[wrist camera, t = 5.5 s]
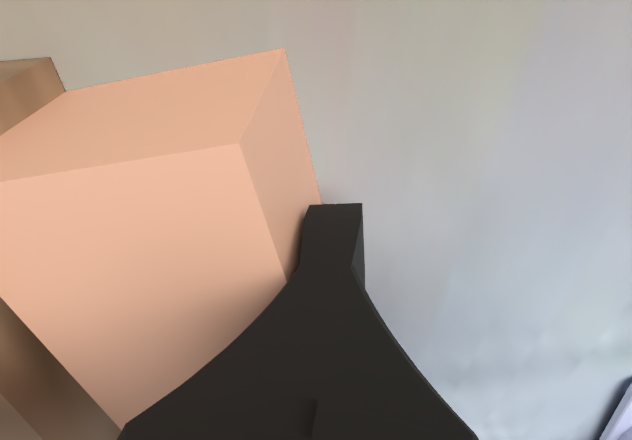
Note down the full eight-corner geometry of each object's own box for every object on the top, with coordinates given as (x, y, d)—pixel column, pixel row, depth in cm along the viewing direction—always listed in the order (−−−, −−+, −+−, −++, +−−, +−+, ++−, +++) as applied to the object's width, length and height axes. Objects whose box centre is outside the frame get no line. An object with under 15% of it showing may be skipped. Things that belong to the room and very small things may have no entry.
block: (341, 283, 15) (336, 425, 11) (181, 299, 16) (124, 432, 12) (284, 47, 10) (238, 143, 6) (65, 91, 11) (-91, 196, 7)
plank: (240, 483, 25) (212, 623, 20) (198, 481, 25) (161, 619, 20) (49, 57, 11) (-195, 182, 6) (-40, 64, 11) (-341, 189, 6)
